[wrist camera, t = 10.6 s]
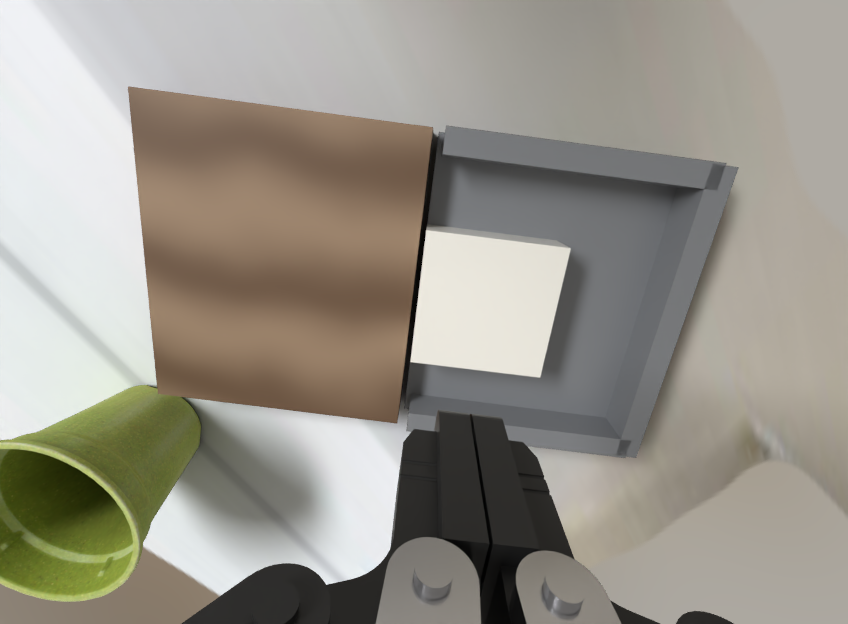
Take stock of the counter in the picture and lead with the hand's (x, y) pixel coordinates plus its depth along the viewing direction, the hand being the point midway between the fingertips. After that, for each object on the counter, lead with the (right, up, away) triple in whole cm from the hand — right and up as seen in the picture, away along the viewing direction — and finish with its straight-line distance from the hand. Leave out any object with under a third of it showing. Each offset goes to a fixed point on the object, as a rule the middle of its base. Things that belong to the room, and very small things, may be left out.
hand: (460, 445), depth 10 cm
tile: (+2, +4, +13) cm, 14 cm away
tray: (+6, +4, +14) cm, 16 cm away
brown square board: (-8, +6, +14) cm, 17 cm away
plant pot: (-19, -4, +18) cm, 26 cm away
